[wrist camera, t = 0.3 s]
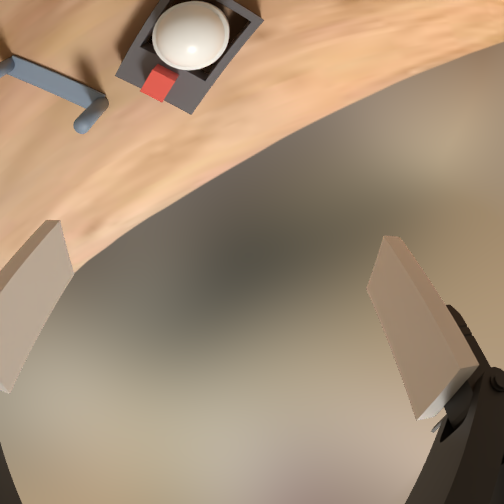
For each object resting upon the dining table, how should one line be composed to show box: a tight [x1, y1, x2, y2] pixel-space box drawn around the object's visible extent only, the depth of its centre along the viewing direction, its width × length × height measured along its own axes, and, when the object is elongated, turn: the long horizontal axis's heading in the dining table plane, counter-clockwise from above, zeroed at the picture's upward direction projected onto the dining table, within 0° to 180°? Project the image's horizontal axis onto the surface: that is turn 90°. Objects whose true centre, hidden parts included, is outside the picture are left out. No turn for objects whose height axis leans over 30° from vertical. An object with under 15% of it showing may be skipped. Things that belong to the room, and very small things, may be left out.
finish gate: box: [0, 55, 109, 134], centre depth 25 cm, size 2×16×6 cm, turn 54°
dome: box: [152, 1, 230, 70], centre depth 22 cm, size 6×6×6 cm
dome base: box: [115, 0, 264, 115], centre depth 24 cm, size 12×9×5 cm
